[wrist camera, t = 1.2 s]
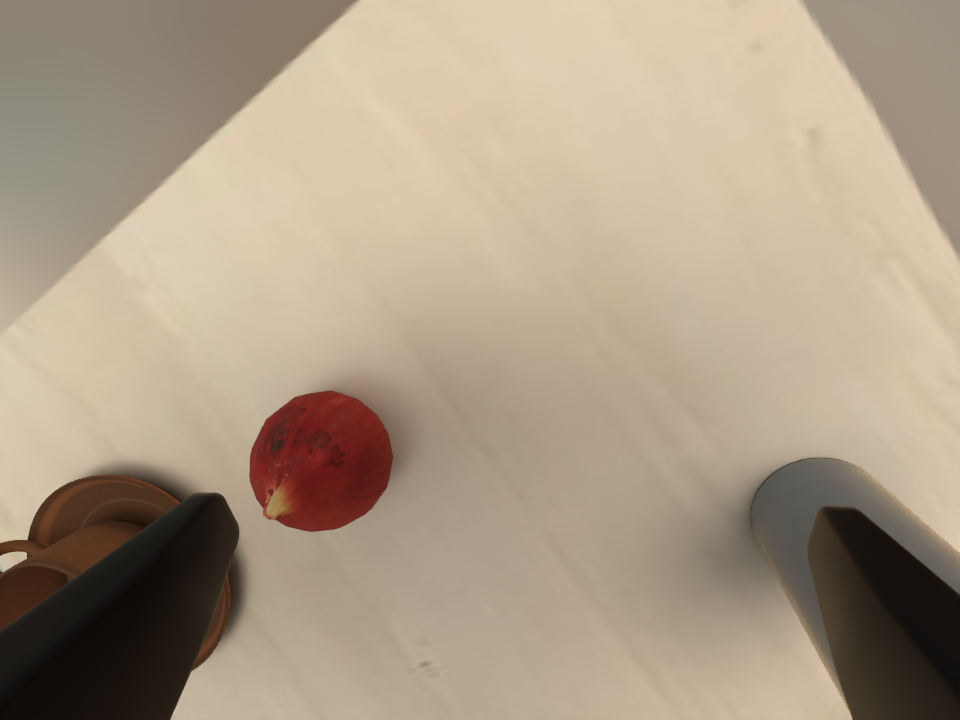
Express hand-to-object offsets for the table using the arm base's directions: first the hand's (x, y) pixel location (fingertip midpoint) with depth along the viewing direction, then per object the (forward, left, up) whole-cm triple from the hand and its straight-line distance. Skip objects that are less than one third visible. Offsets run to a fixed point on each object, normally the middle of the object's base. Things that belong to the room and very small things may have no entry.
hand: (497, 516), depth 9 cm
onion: (-9, +6, -18) cm, 21 cm away
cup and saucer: (-22, +14, -18) cm, 32 cm away
